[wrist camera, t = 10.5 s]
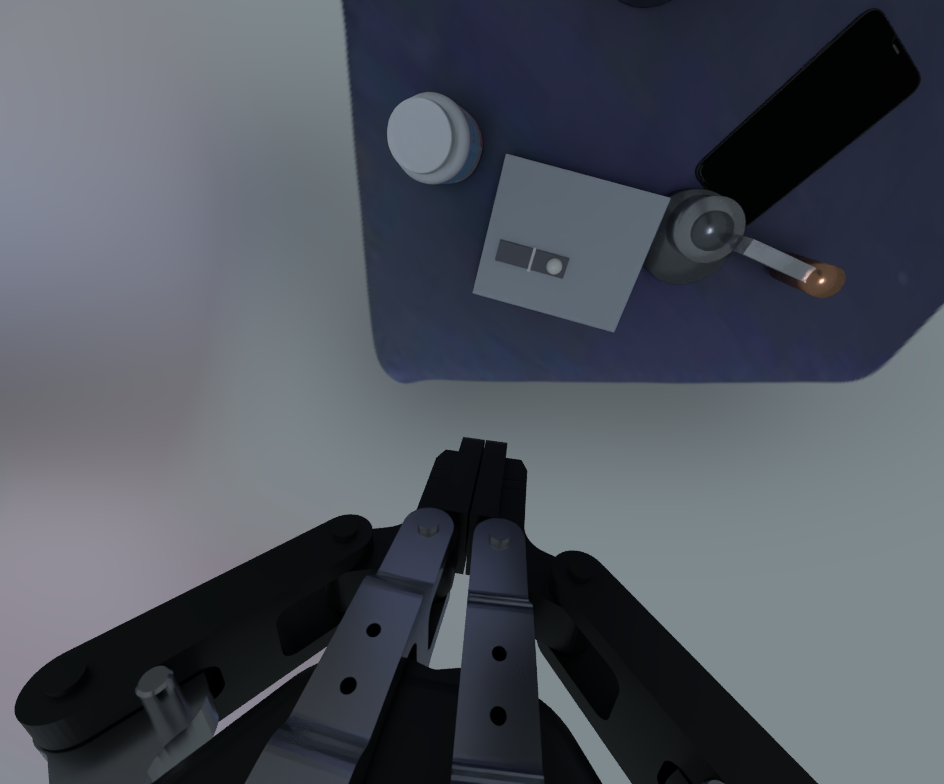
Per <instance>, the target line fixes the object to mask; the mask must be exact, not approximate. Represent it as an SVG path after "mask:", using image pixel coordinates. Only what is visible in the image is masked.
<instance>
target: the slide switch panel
mask: <svg viewBox="0 0 944 784" xmlns="http://www.w3.org/2000/svg"><path fill="white" fill-rule="evenodd" d="M670 199H671V198H669V197H665V196H662V195H658V194H654V193H650V192H647V191H643V190H639V189H636V188H632V187H628V186H624V185H621V184H617V183H613V182H610V181H606V180H602V179H598V178H595V177H591V176H587V175H583V174H580V173H576V172H572V171H569V170H565V169H561V168H557V167H554V166H550V165H546V164H543V163H539V162H535V161H531V160H528V159H524V158H520V157H517V156H513V155H509V154H506V156H505V160H504V164H503V169H502V173H501V177H500V181H499V185H498V190H497V194H496V198H495V202H494V206H493V210H492V215H491V219H490V223H489V227H488V231H487V235H486V240H485V244H484V248H483V252H482V256H481V260H480V265H479V269H478V273H477V277H476V281H475V285H474V290H473V293H474V294H477V295H481V296H485V297H488V298H492V299H495V300H499V301H503V302H506V303H510V304H513V305H517V306H521V307H524V308H528V309H531V310H535V311H539V312H542V313H546V314H549V315H553V316H557V317H560V318H564V319H568V320H571V321H575V322H578V323H582V324H586V325H589V326H593V327H596V328H600V329H604V330H607V331H611V332H614V331H615V329H616V327H617V324H618V322H619V320H620V317H621V315H622V312H623V310H624V308H625V305H626V303H627V301H628V298H629V296H630V294H631V291H632V289H633V286H634V284H635V282H636V279H637V277H638V275H639V272H640V270H641V268H642V265H643V263H644V260H645V258H646V256H647V253H648V251H649V249H650V246H651V244H652V241H653V239H654V237H655V234H656V232H657V230H658V227H659V225H660V223H661V220H662V218H663V215H664V213H665V211H666V208H667V206H668V204H669V201H670Z"/></svg>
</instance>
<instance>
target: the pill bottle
mask: <svg viewBox="0 0 944 784" xmlns="http://www.w3.org/2000/svg"><path fill="white" fill-rule="evenodd" d="M387 139H388V145H389V148H390V151H391V153H392V155H393V157H394V158H395V160H396V161H397V162H398V163H399V165H400V166H401V168H402V169H403V170H404V171H405V172H406V173H407V174H408V175H409V176H410V177H412V178H413V179H415V180H417V181H419V182H422V183H426V184H449V183H457V182H460V181H462V180H464V179H466V178H467V177H469V176H470V175H471V174H472V173H473V171H474V170H475V169H476V167H477V165H478V163H479V160H480V158H481V154H482V147H483V141H482V135H481V131H480V129H479V126H478V124H477V123H476V121H475V120H474V118H473V117H472V116H471V115H470V114H469V113H468V112H467V111H465V110H464V109H463V108H462V107H460V106H459V105H458V104H457V103H455V102H454V101H452V100H451V99H450V98H448V97H446V96H444V95H442V94H439V93H435V92H424V93H420V94H417V95H415V96H413V97H411V98H409V99H406V100H404V101H403V102H401V103H400V104H399V105H398V106H397V107H396V108H395V109H394V111H393V112H392V114H391V117H390V119H389V123H388V128H387Z"/></svg>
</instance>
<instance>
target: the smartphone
mask: <svg viewBox="0 0 944 784" xmlns="http://www.w3.org/2000/svg"><path fill="white" fill-rule="evenodd" d="M920 81H921V76H920V73H919V71H918V69H917V67H916V66H915V64H914V62H913V60H912V59H911V57H910V55H909V54H908V52H907V50H906V49H905V47H904V45H903V44H902V42H901V40H900V39H899V37H898V35H897V34H896V32H895V30H894V29H893V27H892V25H891V24H890V22H889V20H888V19H887V17H886V16H885V14H884V13H883V11H881V10H880V9H877V8H873V9H870V10H867V11H865V12H864V13H862V14H861V15H860V16H858V17H857V18H856V19H855V20H854V21H853V22H852V23H851V24H850V25H848V26H847V27H846V28H845V29H844V30H843V31H842V32H840V33H839V34H838V36H836V37H835V38H834V39H833V40H832V41H831V42H829V43H828V44H827V45H826V46H825V47H824V48H823V49H822V50H820V51H819V52H818V53H817V55H816V56H815V57H813V58H812V59H811V60H810V61H808V62H807V63H806V64H805V65H804V66H803V67H802V68H801V69H800V70H799V71H798V72H797V73H796V74H795V75H794V76H793V77H792V78H790V79H789V80H788V81H787V82H786V83H785V84H784V85H783V86H782V87H781V88H780V89H778V90H777V91H776V92H775V93H774V94H773V95H772V96H771V97H770V98H769V99H767V100H766V101H765V102H764V103H763V104H762V105H761V106H760V107H759V108H758V109H757V110H755V111H754V112H753V113H752V114H751V115H750V116H749V117H748V118H747V119H746V120H745V121H743V122H742V123H741V124H740V125H739V126H738V127H737V128H736V129H735V130H734V131H733V132H731V133H730V134H729V135H728V136H727V137H726V138H725V139H724V140H723V141H722V142H720V143H719V144H718V145H717V146H716V147H715V148H714V149H713V150H712V151H711V152H710V153H708V154H707V155H706V156H705V157H704V158H703V159H702V160H701V161H700V162H699V163H698V165H697V167H696V169H695V175H696V178H697V180H698V181H699V182H700V184H701V185H702V186H703V187H704V189H706V190H709V191H713V192H715V193H718V194H719V195H721V196H724V197H728V198H731V199H733V200H734V201H736V202H737V203H738V204H739V205H740V206H741V208H742V209H743V212H744V215H745V226H747V225H749V224H751V223H752V222H753V221H755V220H756V219H757V218H758V217H760V216H761V215H762V214H763V213H765V212H766V211H767V210H768V209H770V208H771V207H772V206H773V205H775V204H776V203H777V202H778V201H780V200H781V199H782V198H783V197H785V196H786V195H787V194H788V193H790V192H791V191H792V190H793V189H795V188H796V187H797V186H798V185H800V184H801V183H802V182H803V181H805V180H806V179H807V178H808V177H810V176H811V175H812V174H813V173H815V172H816V171H817V170H818V169H820V168H821V167H822V166H823V165H825V164H826V163H827V162H828V161H830V160H831V159H832V158H833V157H835V156H836V155H837V154H838V153H840V152H841V151H842V150H843V149H845V148H846V147H847V146H848V145H850V144H851V143H852V142H853V141H855V140H856V139H858V138H859V137H860V136H861V135H863V134H864V133H865V132H866V131H868V130H869V129H870V128H871V127H873V126H874V125H875V124H876V123H877V122H878V121H880V120H881V119H882V118H883V117H885V116H886V115H887V114H888V113H890V112H891V111H892V110H893V109H895V108H896V107H897V106H898V105H900V104H901V103H902V102H903V101H905V100H906V99H907V98H908V97H910V96H911V95H912V94H913V93H914V92H915V91H916V89H917V88H918V86H919V84H920Z"/></svg>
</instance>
